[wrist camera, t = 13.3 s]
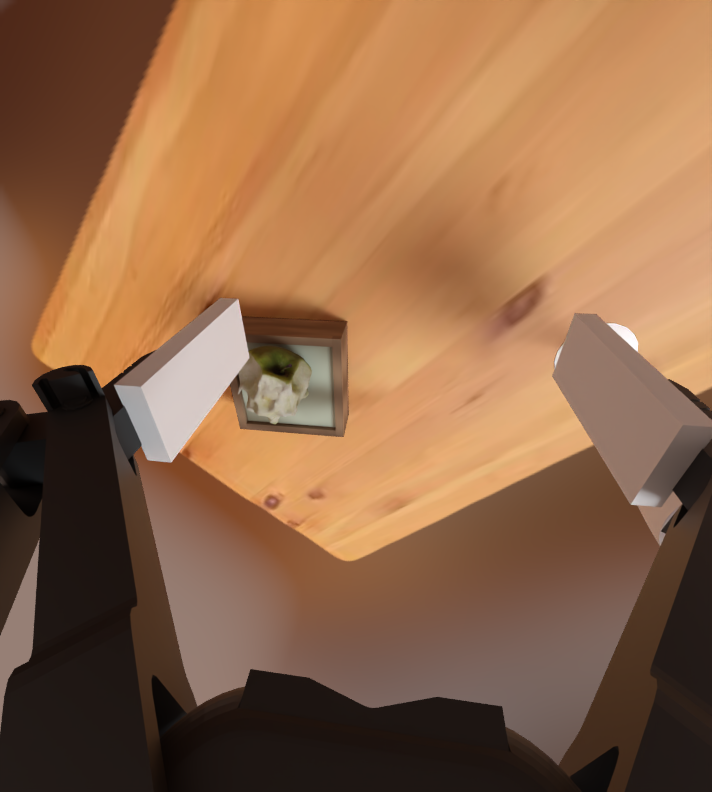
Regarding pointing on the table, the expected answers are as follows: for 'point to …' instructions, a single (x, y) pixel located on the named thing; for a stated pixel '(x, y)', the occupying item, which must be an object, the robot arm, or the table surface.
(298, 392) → the fruit
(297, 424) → the stand
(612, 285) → the table surface
